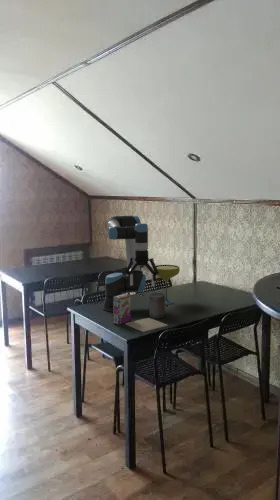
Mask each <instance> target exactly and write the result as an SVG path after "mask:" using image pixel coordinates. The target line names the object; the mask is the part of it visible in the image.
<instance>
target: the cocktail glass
mask: <svg viewBox="0 0 280 500" xmlns="http://www.w3.org/2000/svg"><path fill="white" fill-rule="evenodd" d="M156 267H157V269H158V272H159V274H157V275H156V277H159V278H161V279H163V281H164V282H165V306H166V305H167V306H168V305H172V304H174V303H175V301H173V300H170V299H168V293H167V290H168V288H167V287H168V285H167V284H168V283H167V282H169V280H170V279H172V278H174V277H176V276H177V275H178V274H179V273H180V266H179V265H176V264H175V265H173V264H159V265H157V264H156ZM152 269H153V268H152ZM153 270H154V269H153Z"/></svg>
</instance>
